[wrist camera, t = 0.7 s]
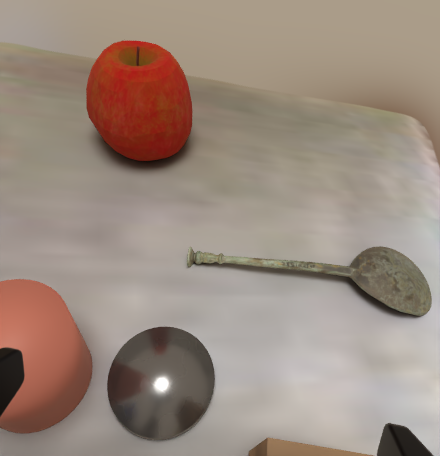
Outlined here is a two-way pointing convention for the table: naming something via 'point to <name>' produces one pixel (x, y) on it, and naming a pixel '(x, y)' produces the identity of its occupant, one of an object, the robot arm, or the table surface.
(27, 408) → the brick-red tin
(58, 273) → the table surface
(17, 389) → the robot arm
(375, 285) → the soupspoon
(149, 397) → the jar lid
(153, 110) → the apple
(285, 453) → the walnut cube
